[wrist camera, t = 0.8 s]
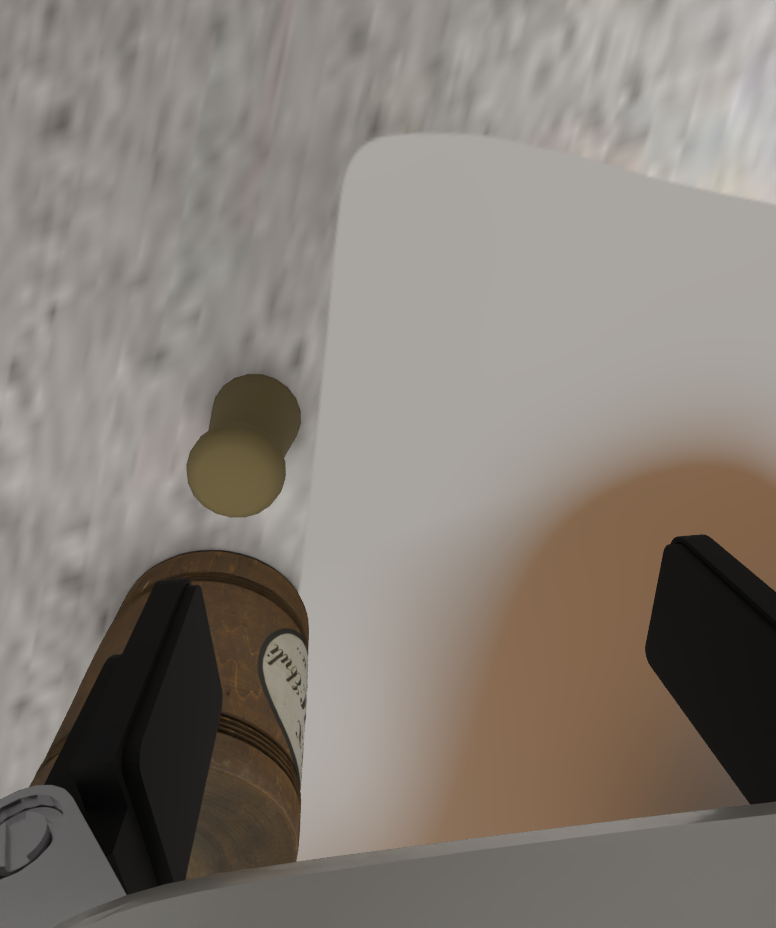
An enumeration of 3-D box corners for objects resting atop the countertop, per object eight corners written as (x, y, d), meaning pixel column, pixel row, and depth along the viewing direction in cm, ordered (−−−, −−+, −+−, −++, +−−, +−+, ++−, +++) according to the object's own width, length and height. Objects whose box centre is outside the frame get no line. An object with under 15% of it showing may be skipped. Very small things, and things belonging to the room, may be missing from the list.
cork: (202, 380, 38) (156, 437, 28) (292, 368, 38) (279, 421, 28) (223, 462, 40) (187, 542, 30) (307, 451, 40) (300, 526, 30)
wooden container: (288, 707, 50) (260, 1036, 30) (111, 682, 47) (-52, 1029, 27) (329, 568, 45) (330, 854, 24) (133, 531, 42) (-48, 820, 22)
